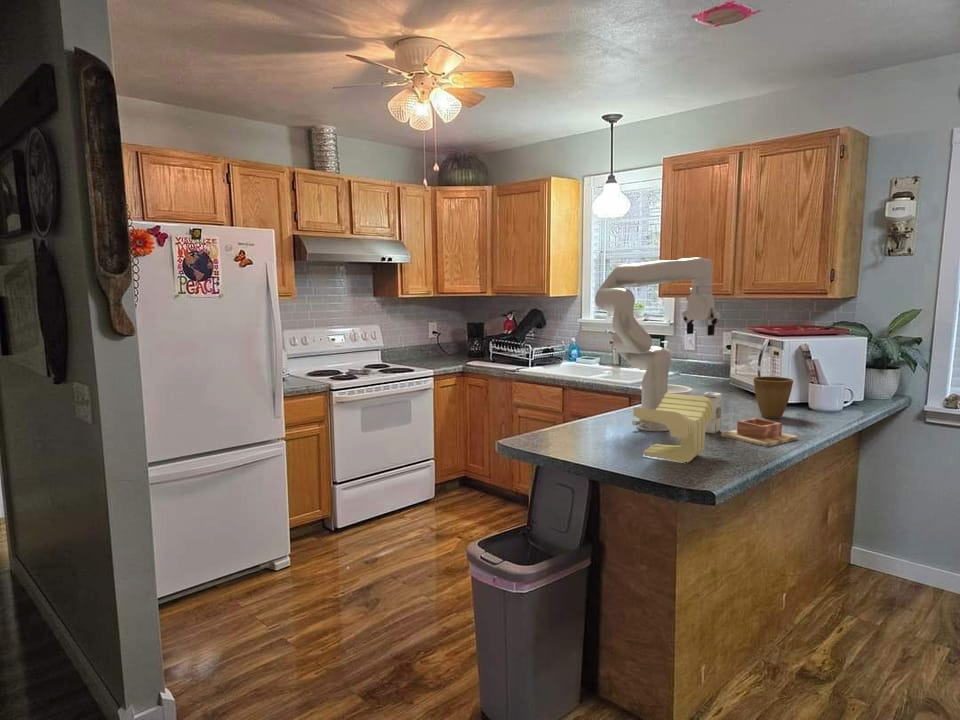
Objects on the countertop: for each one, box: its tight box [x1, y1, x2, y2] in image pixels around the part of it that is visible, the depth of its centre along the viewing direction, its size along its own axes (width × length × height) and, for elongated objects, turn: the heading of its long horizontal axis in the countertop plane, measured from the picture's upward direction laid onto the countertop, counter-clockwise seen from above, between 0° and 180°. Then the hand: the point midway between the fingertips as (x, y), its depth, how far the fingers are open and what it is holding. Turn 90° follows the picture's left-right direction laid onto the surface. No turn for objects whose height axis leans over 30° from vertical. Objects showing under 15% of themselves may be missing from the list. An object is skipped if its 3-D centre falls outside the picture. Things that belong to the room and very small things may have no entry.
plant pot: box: [752, 376, 794, 419], centre depth 251 cm, size 15×15×16 cm
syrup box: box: [701, 391, 723, 434], centre depth 227 cm, size 6×6×14 cm
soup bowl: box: [638, 383, 693, 395], centre depth 286 cm, size 24×24×7 cm
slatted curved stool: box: [633, 393, 713, 464], centre depth 194 cm, size 30×16×18 cm, turn 145°
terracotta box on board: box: [720, 417, 799, 448], centre depth 217 cm, size 18×18×6 cm
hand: (700, 334), depth 239 cm, fingers open, 9 cm apart
